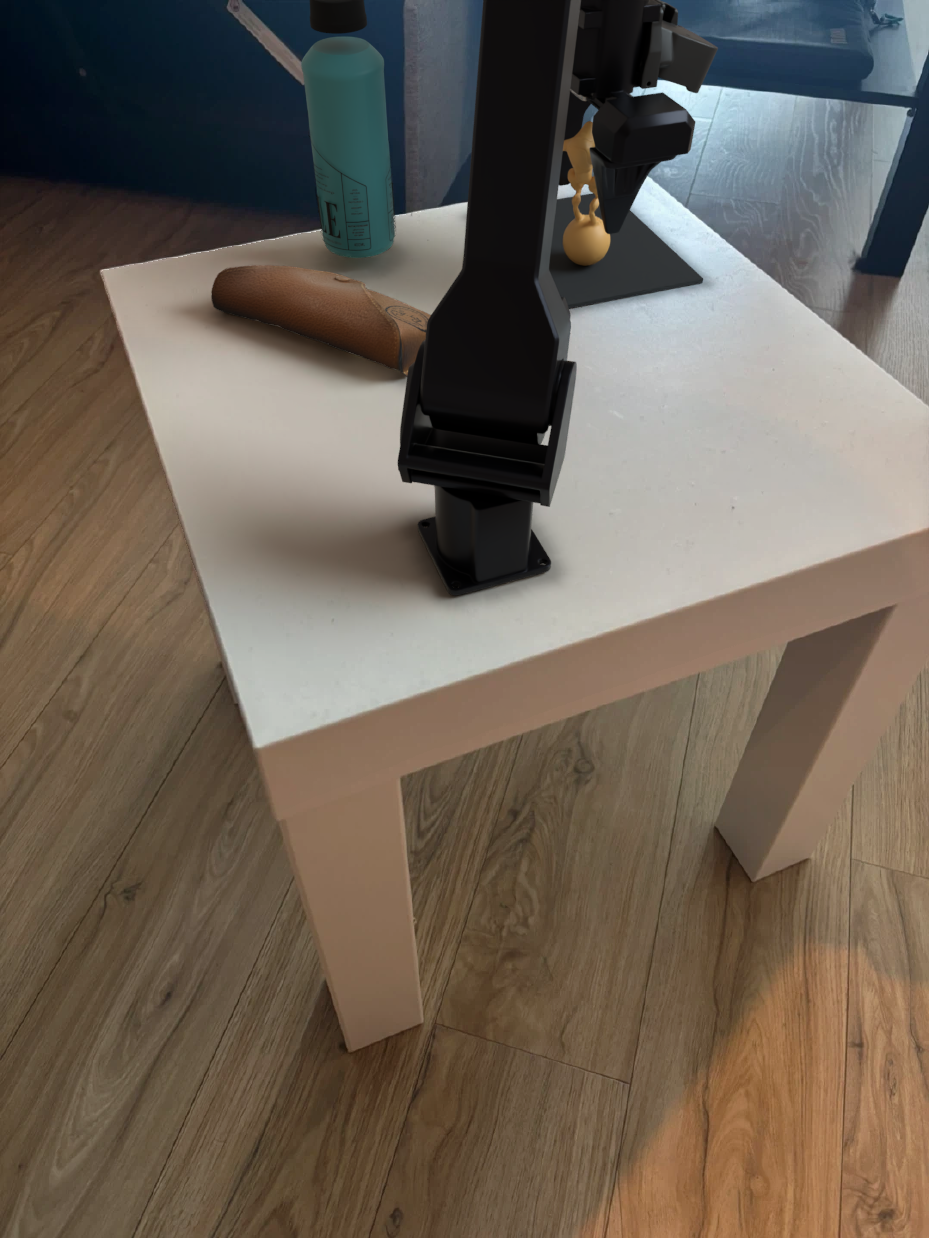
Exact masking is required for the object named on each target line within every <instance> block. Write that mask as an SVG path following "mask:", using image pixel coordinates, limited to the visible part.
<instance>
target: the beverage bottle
mask: <svg viewBox="0 0 929 1238" xmlns="http://www.w3.org/2000/svg"><path fill="white" fill-rule="evenodd" d="M309 26H310V28H311V29H312V30H313V31H315V32H318V33H324V34H331V35H332V34H333V35H334V34H335V35H337V34H339V35H340V34H341V35H343V34H350V33H356V32H359V31H361V30H363V29H365V28H366V27H367V26H368V18H367V12H366V7H365V0H309ZM300 67H301V72H302V76H303V83H304V91H305V98H306V99H305V100H306V108H307V112H306V113H307V117H308V126H307V129H309V130H308V131H307V136H308V137H309V141H310V145H311V152H312V160H313V172H314V176H313V179H315V181H313V182H314V185H315V188H314V191H315V201H316V205H317V207H316V208H317V213H318V215H317V216H318V218H319V222H318V224H319V229H321V230H320V232H321V236H320V237H321V240H322V241H323V243H324V245H325V247H326V249H327V250H328V251H329V252H331V253H333V254H334V255H337V256H339V257H344V258H352V259H353V258H354V259H363V258H371V257H374V256H378V255H381V254H384V253H385V252H387V251H388V250H389V249H390V248H391V247H392V246H393V244H394V242H395V237H396V235H397V234H396V233H397V230H398V229H397V228H396V225H397V221H396V210H395V207H396V204H395V196H394V182H393V181H394V180H393V178H392V176H394V174H393V170H392V169H393V166H392V165H391V162H393V159H391V154H392V151H391V152H390V150H391V149H390V148H392V146H391V145H390V144H391V142H390V139H389V131H388V130H389V129H388V117H387V116H388V113H387V101H386V85H385V84H386V83H385V71H384V69H385V59H384V57H383V56H382V54H381V53H380V52H379V50H377V49H376V47H374V46H373V45H372V44H371V43H370V42H368V41H367V40H366V39H364V38H360V37H356V36H333V37H332V36H331V37H327V38H323V39H320V40H318V41H316V42H315V43H313V45H311V47H310V48H309V49H308V50H307V52H306V53H305V55H304V56H303V58H302V60H301V62H300ZM390 153H391V154H390Z"/></svg>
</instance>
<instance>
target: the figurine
mask: <svg viewBox="0 0 929 1238" xmlns="http://www.w3.org/2000/svg"><path fill="white" fill-rule="evenodd" d="M592 125H593V121H591V120H588V121H586V122H585V123H584V124H583V125H582V128H581V130H580V131H579V132H578V133H577V134H576V135H575V136H574V137H573V138H570V139H567V140H564V145H563V151H567V153H568V156H569V159H570V161H571V164H572V166H573V168H571V169H570V170H569V171H568V180H569V182H570V184H569V185H570V187H571V188H572V189H573V190H574V191H575V194H574V195H573V196H572V197H573V198H572V205H573V212H574V215H575V219H574V220H572V221H571V222H570V223H569V225H568V226H567V227H566V229H565V232H564V235H563V248H564V251H565V253H566V255H567V256H568V258H569V259H570V260H571V261H573V262H574V263H576V264H578V265H583V266H587V265H592V264H595V263H597V262H598V261H600V260H601V259H602V258H603V257H604V256H605V254H606V253H607V251H608V249H609V245H610V234H607V233H606V232H605V229H604V225H603V221H602V220H601V219H600V218H598V217H596V216H595V213H594V211H595V210H596V209H597V208H598V206H599V200H598V194H597V189H596V183H595V178H594V175H593V167H592V162H591V156H590V150H589V149H590V147H595V144H594V139H593V135H592ZM585 185H587V186H588V191H589V192H590V193H591V194H592V193H594V194H595V196H596V197H595V198H594V199H593V200H592V201H591V203H590V211H589V215H584V214H583V215H582V214H581V213H580V211H579V209H578V205H579V204H580V201H581V197H580V195H582V189H583V188H584V186H585Z"/></svg>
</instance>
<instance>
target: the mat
mask: <svg viewBox="0 0 929 1238" xmlns="http://www.w3.org/2000/svg"><path fill="white" fill-rule="evenodd" d="M580 197H581V201H580V204H579V205H578V209H579V211H580V213H581V214H582V215H583V214H584V215H589V211H590V203H591V201H592V200H593V199H594V198H595V197H596V196H595V194H594V193H592V192H591V193H588V194H587V193H586V194H581V195H580ZM572 198H573V196H569V197H568V196H567V197H563V198H557V203H556V211H555V220H554V228H553V236H552V245H551V253H550V262H549V271H550V273H551V276H552V278H553V280H554V283H555V285H556V287H557V290H558V292H559V294H560V297H564V298H565V299H566V302H567V305H568V308H569V310H570V309H574V308H575V309H576V308H580V307H585V306H590V305H595V304H600V303H606V302H610V301H615V300H621V299H625V298H627V299H628V298H631V297H636V296H642V295H646V294H651V293H657V292H662V291H668V290H673V289H677V288H682V287H687V286H694V285H697V284H702V283H703V282H704V277H702V275H700V274H699V273H698V272H697V271H696V270H695V269H694V268H693V267H692V266H691V265H690V264H688V263H687V262H686V261H685V260H684V259H683V258H682V257H681V256H680V255H679V254H678V253H677V252H676V251H674V250H673V248H671V246H669V245H668V244H667V243H666V242H665V241H664V240H663V239H662V238H661V237H659V236H658V234H657V233H655V232H654V231H653V230H652V229H651V228H650V227H649V226H648V225H647V224H645V222H643V221H642V220H641V219H640V218H639V217H638V216H637V215H636V213H634V212H633V211H632V210H630V211H629V213H628V215H627V217H626V219H625V221H624V223H623V225H622V227H621V229H620V231H619V232H617V233H612V234H610V245H609V249H608V251H607V253H606V254H605V256H604V257H603V258H602V259H601V260H600V261H598V262H597V263H595V264H592V265H587V266H583V265H578V264H576V263H574V262H573V261H571V260H570V259H569V258H568V256H567V255H566V253H565V251H564V248H563V235H564V232H565V229H566V227H567V226H568V225H569V223H570V222H571V221H572V220H574V219H575V215H574V212H573V205H572ZM594 213H595V216H596V217H598V218H600V219H601V220H602V216H601V211H600V206H598V208H597V209H596V210H595V211H594Z"/></svg>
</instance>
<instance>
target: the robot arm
mask: <svg viewBox="0 0 929 1238" xmlns="http://www.w3.org/2000/svg"><path fill="white" fill-rule="evenodd" d="M678 23H679V10H678V8H677V7H675V6H673V5H671V4H669V3H668V2H665V1H663V0H482V9H481V23H480V35H479V37H480V38H479V49H478V60H477V61H478V64H477V76H476V89H475V100H474V102H475V103H474V115H473V125H472V126H473V127H472V142H471V152H470V164H469V165H470V166H469V167H470V168H469V177H468V178H469V180H468V192H467V193H468V194H467V205H466V217H465V219H466V220H465V230H464V244H463V257H462V266H461V270H460V271H459V273H458V274H457V276H456V278H454V280H453V281H452V284H451V285H450V286H449V288H447V290H446V291H445V294H444V295H443V297H442V299H441V300H440V301H439V302H438V304H437V306H436V307H435V309H434V310H433V312H432V313H431V314H430V315H431V316H430V317H429V319H428V322H427V328H426V338H425V340H424V341H423V342H422V344H421V345H420V347H419V350H418V353H417V356H416V360H415V362H414V363H413V364H411V365H410V366H409V369H408V375H407V376H406V383H405V391H404V397H403V405H402V410H401V411H402V412H401V419H400V427H399V428H400V429H399V450H398V451H399V452H398V456H397V470H398V472H399V475H400V479H401V483H406V484H412V483H417V484H422V485H428V486H429V485H430V486H434V511H435V513H434V516H431V517H427V518H424V519H421V520H419V521H418V522H417V531H418V534H419V536H420V538H421V540H422V541H423V544H424V546H425V548H426V550H427V552H428V554H429V556H430V558H431V561H432V562H433V564H434V566H435V568H436V570H437V573H438V575H439V577H440V578H441V580H442V583H443V585H444V587H445V589H446V591H447V592H448V594H450V596H460V595H465V594H468V593H472V592H476V591H480V590H484V589H487V588H491V587H495V586H499V585H502V584H506V583H510V582H514V581H518V580H523V579H526V578H529V577H530V578H531V577H533V576H537V575H540V574H545V573H547V572H549V571H550V570H551V568H552V559H551V558H550V556H549V554H548V553H547V551H546V549H545V548H544V546H543V544H542V543H541V542H540V540H539V538H538V537H537V535H536V534H535V532H534V530H533V528H532V526H533V525H532V524H533V511H534V503H535V504H540V506H542V507H548V508H550V507H551V505H552V500H553V498H554V494H555V492H556V489H557V484H558V480H559V478H560V474H561V470H562V467H563V464H564V462H565V456H566V451H567V443H568V438H569V437H568V436H569V430H570V422H571V415H572V409H573V403H574V402H573V401H574V394H575V388H576V381H577V370H578V369H577V366H578V365H577V361H572V360H568V355H569V348H570V340H571V339H570V338H571V330H572V321H571V316H572V315H571V310H570V309H569V308H568V305H567V302H566V299H565V298H564V297H560V294H559V292H558V290H557V287H556V285H555V283H554V280H553V278H552V276H551V273H550V271H549V262H550V253H551V245H552V236H553V228H554V220H555V211H556V203H557V199H558V195H559V194H558V193H559V186H561V187H562V186H567V185H571V184H570V182H569V180H568V171H569V170H570V169H571V168H573V166H572V164H571V161H570V159H569V156H568V153H567V151H563V145H564V140H567V139H570V138H573V137H574V136H575V135H576V134H577V133H578V132H579V131H580V130H581V128H582V127H583V123H584V117H585V114H586V112H587V110H588V109H589V108H590V106H591V105H592V106H593V107H594V108H595V109H596V110H597V111H596V112H595V113H594V114H593V116H592V122H593V125H592V135H593V139H594V144H595V147H590V149H589V150H590V156H591V162H592V167H593V169H592V174H593V176H594V178H595V183H596V189H597V194H598V200H599V206H600V211H601V216H602V221H603V225H604V229H605V232H606V233H607V234H612V233H617V232H619V231H620V229H621V227H622V225H623V223H624V221H625V219H626V217H627V215H628V213H629V211H631V209H632V207H633V205H634V202H635V201H636V198H637V196H638V194H639V192H640V190H641V188H642V186H643V184H644V183H645V181H646V179H647V177H648V176H649V175H650V173H651V172H652V170H653V169H655V168H656V167H657V166H658V165H659V164H661V163H662V162H669V161H672V160H673V161H674V159H676V157H677V156H681V155H688V154H689V153H690V151H691V150H692V144H693V138H694V133H695V127H696V120H695V119H694V118H693V116H692V115H691V114H690V112H689V110H687V108H685V107H684V106H682V105H681V104H679V102H677V101H676V100H674V99H673V98H672V97H670V96H668V95H667V94H666V93H665V92H656V93H649V94H640V95H632V93H633V92H634V88H640V89H642V90H646V89H653V88H657V87H658V81H659V79H661V80H665V81H667V82H670V83H673V84H676V85H679V86H682V87H685V89H686V90H687V92H690V93H692V94H699V92H700V90H701V88H702V85H703V83H704V81H705V78H706V76H707V74H708V72H709V70H710V68H711V65H712V64H713V61H714V58H715V56H716V54H717V52H718V50H719V47H718V46H716V45H715V44H713V43H711V42H710V41H708V40H706V39H705V38H703V37H701V35H698V34H696V33H695V32H694V31H691V30H689V29H687V28H685V27H684V26H682V25H680V24H678ZM549 428H550V431H549ZM548 431H549V437H548V442H547V444H542V443H543V441H544V439H545V436H546V432H548Z"/></svg>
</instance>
